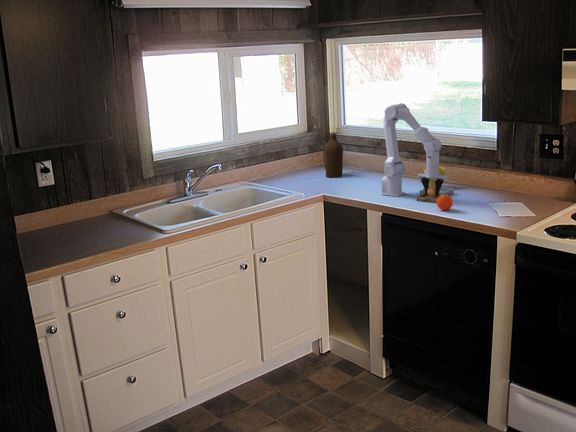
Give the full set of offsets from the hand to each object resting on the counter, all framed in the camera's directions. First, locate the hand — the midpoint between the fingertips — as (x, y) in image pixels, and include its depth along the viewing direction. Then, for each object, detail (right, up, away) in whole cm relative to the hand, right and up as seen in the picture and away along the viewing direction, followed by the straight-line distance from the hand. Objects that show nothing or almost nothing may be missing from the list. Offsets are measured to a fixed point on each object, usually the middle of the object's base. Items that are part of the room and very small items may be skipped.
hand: (432, 194), depth 295 cm
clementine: (+1, -8, -17) cm, 18 cm away
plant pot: (+7, +4, +25) cm, 27 cm away
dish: (+5, 0, +11) cm, 12 cm away
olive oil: (-41, +12, +64) cm, 77 cm away
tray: (0, -3, +1) cm, 3 cm away
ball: (0, +1, 0) cm, 2 cm away
